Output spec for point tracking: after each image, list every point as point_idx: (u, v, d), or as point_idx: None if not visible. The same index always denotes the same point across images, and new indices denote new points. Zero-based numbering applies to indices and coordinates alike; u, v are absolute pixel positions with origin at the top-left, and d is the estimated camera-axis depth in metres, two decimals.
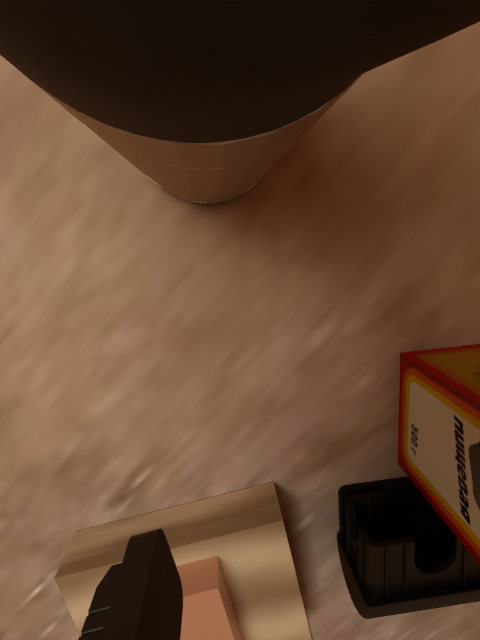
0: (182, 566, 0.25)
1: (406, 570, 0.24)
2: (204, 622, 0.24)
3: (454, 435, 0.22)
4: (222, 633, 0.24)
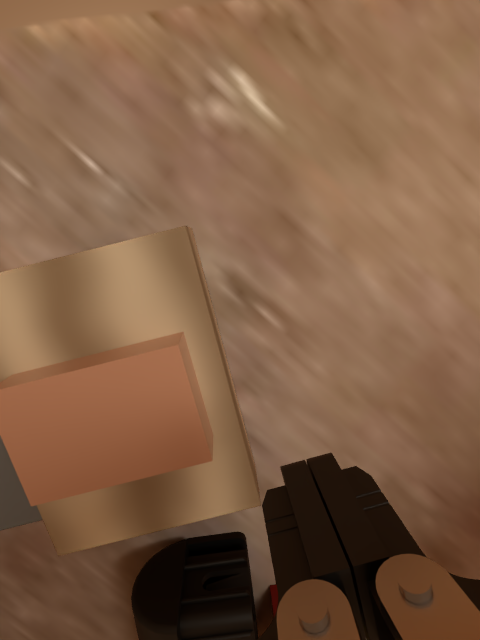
0: (201, 395, 0.19)
1: None
2: (155, 445, 0.17)
3: None
4: (133, 468, 0.18)
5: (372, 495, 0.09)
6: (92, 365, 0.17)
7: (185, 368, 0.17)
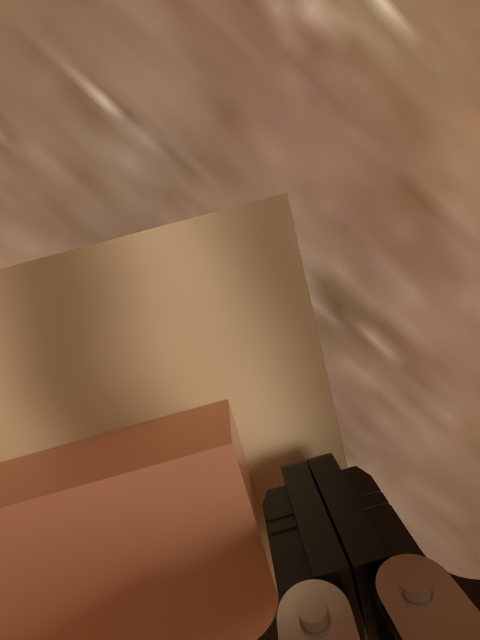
0: None
1: None
2: (187, 624, 0.09)
3: None
4: None
5: (372, 495, 0.09)
6: (63, 487, 0.08)
7: (244, 484, 0.09)
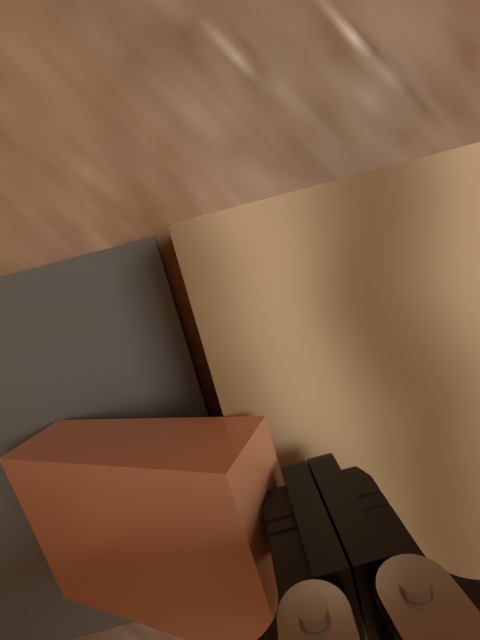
0: None
1: None
2: (197, 607, 0.10)
3: None
4: (170, 620, 0.11)
5: (372, 495, 0.09)
6: (105, 462, 0.10)
7: (242, 515, 0.08)
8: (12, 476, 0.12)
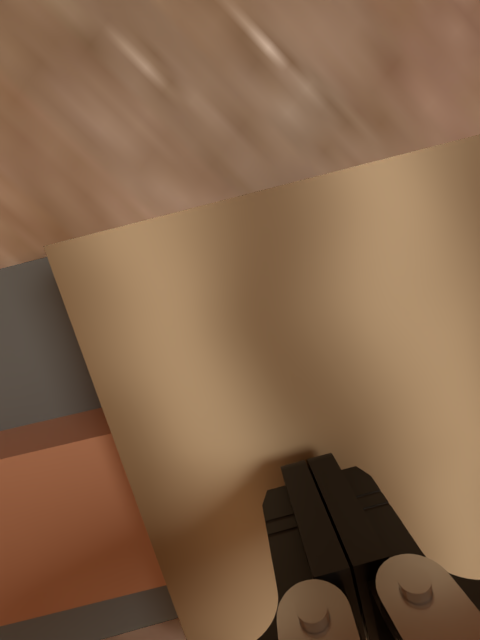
0: None
1: None
2: (90, 565, 0.12)
3: None
4: (60, 595, 0.13)
5: (372, 495, 0.09)
6: None
7: None
8: None
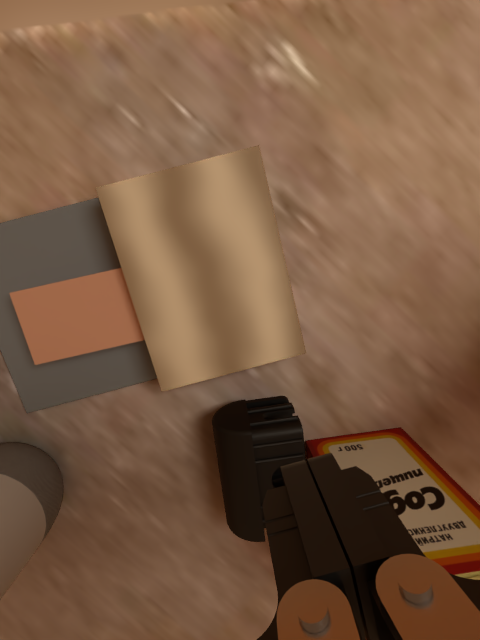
0: None
1: (280, 458, 0.29)
2: (110, 329, 0.29)
3: (405, 472, 0.30)
4: (97, 343, 0.30)
5: (372, 495, 0.09)
6: (73, 278, 0.29)
7: None
8: (16, 300, 0.29)
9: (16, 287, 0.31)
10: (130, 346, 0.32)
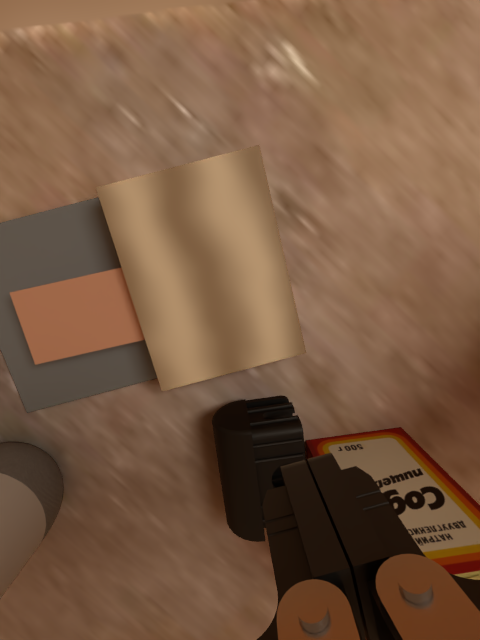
0: None
1: (280, 458, 0.29)
2: (110, 328, 0.29)
3: (405, 472, 0.30)
4: (97, 342, 0.30)
5: (372, 495, 0.09)
6: (74, 278, 0.29)
7: None
8: (16, 300, 0.29)
9: (16, 287, 0.31)
10: (130, 345, 0.32)
